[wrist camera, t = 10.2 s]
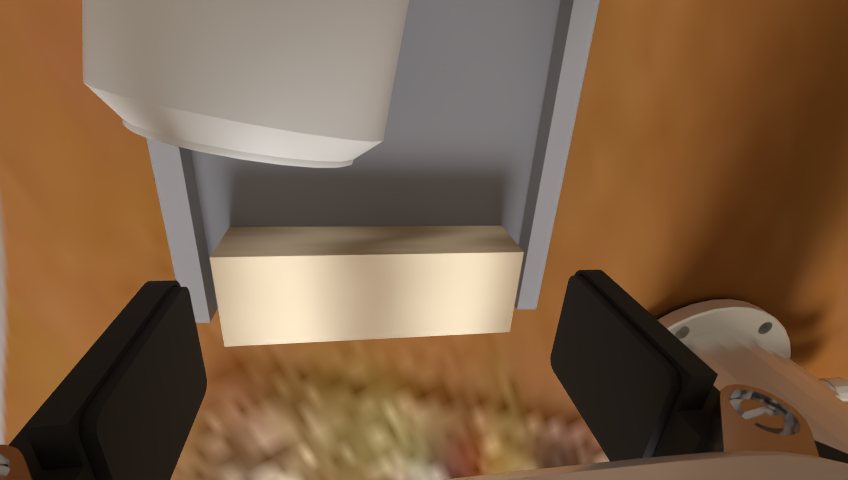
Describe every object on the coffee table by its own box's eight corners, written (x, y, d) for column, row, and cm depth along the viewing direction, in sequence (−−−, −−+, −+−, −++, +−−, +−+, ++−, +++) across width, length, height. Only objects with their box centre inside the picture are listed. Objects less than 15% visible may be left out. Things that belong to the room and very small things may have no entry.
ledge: (498, 222, 20) (524, 252, 17) (488, 293, 22) (509, 331, 19) (231, 223, 18) (209, 257, 15) (242, 302, 20) (224, 346, 17)
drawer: (583, -17, 16) (604, -23, 15) (524, 292, 22) (536, 308, 21) (126, -64, 14) (101, -76, 12) (196, 304, 19) (185, 323, 18)
